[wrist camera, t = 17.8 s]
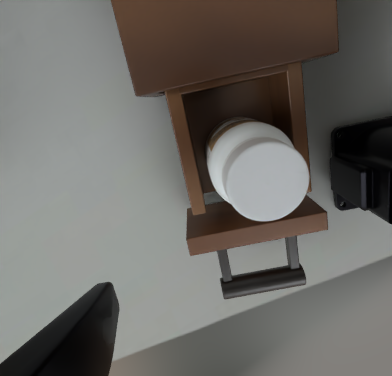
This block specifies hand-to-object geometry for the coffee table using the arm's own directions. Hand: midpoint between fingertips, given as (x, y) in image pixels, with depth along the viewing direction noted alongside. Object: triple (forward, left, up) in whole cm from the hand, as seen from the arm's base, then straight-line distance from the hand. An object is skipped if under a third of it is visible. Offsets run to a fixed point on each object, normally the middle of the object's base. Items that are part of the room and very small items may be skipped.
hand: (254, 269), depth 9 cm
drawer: (-1, +1, -12) cm, 12 cm away
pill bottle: (-2, -1, -11) cm, 11 cm away
